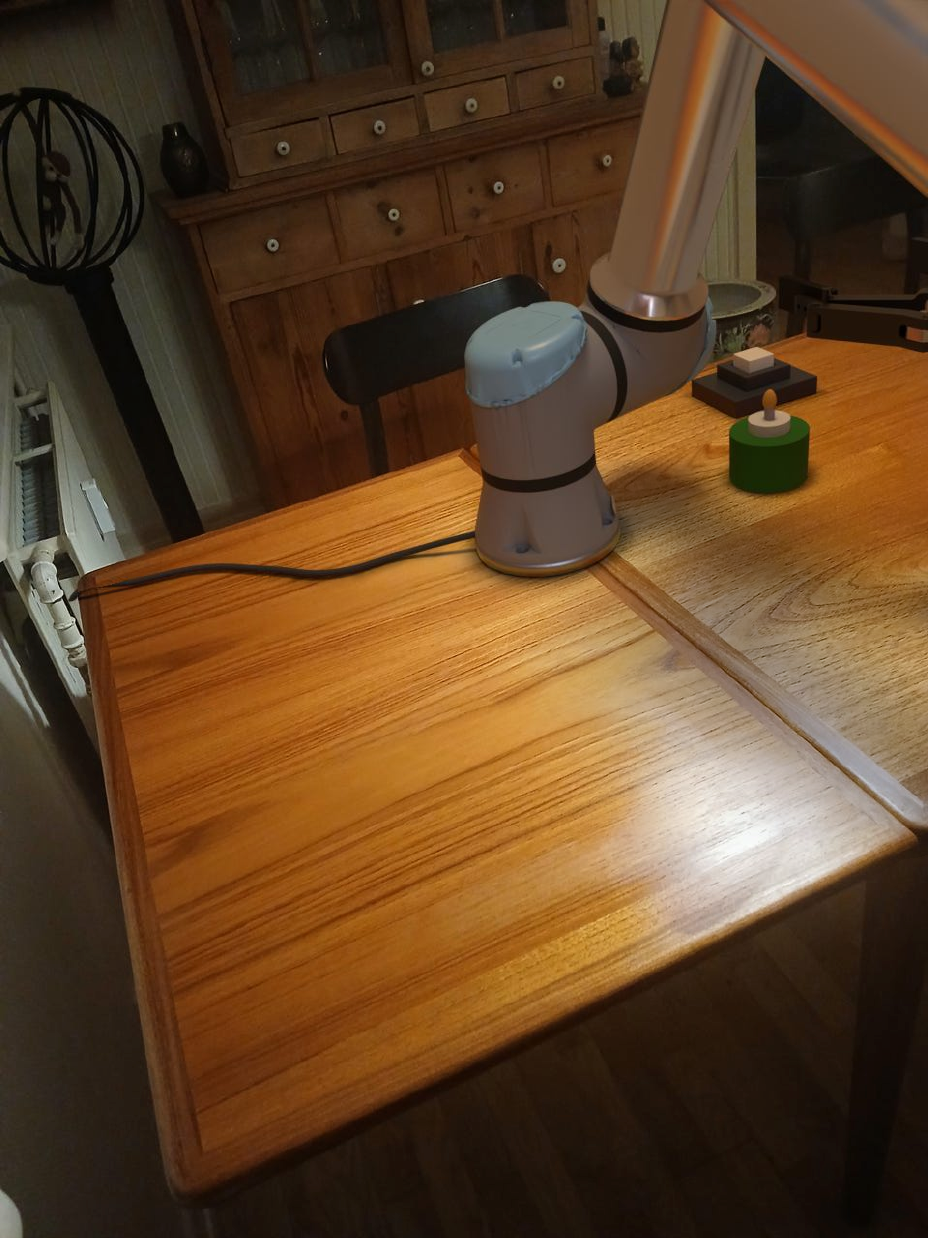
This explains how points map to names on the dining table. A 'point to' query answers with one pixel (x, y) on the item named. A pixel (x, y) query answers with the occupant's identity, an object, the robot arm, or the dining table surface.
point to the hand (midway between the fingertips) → (848, 271)
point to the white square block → (753, 359)
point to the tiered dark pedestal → (752, 387)
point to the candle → (769, 450)
